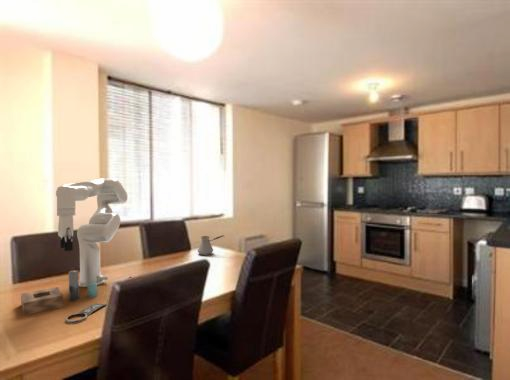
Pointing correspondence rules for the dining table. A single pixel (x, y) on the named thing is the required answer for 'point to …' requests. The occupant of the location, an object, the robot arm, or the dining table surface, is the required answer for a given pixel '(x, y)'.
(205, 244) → the coffee pot
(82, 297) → the dining table surface
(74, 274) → the tall pin
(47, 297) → the hole block
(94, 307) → the grey ring with handle
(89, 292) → the short pin
